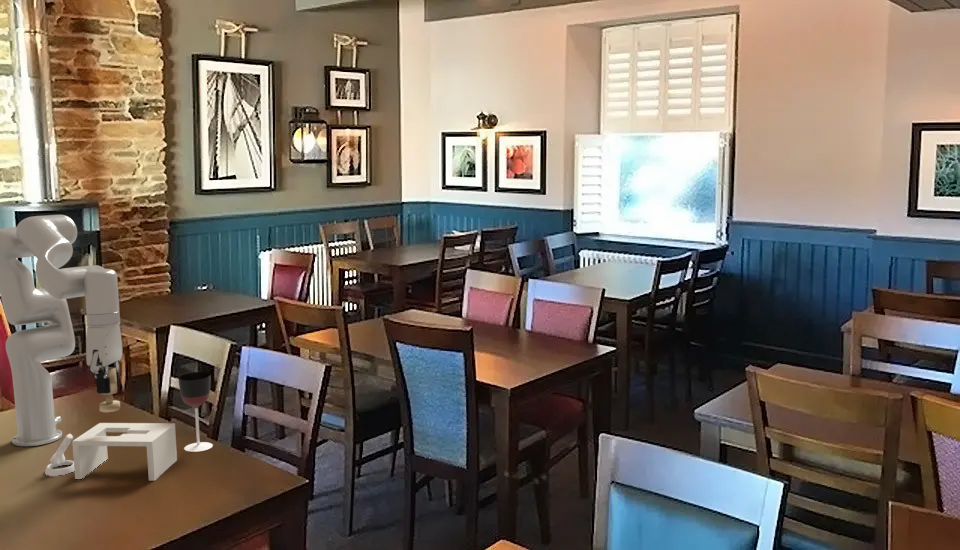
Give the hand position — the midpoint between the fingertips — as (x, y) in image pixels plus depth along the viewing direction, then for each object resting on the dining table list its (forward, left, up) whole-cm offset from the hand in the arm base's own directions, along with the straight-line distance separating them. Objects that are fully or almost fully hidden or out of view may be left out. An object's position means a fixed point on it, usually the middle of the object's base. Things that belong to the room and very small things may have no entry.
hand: (108, 389), depth 212 cm
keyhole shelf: (0, +3, -21) cm, 21 cm away
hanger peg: (0, 0, -5) cm, 5 cm away
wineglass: (-17, +15, -21) cm, 31 cm away
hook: (+1, -13, -21) cm, 25 cm away
